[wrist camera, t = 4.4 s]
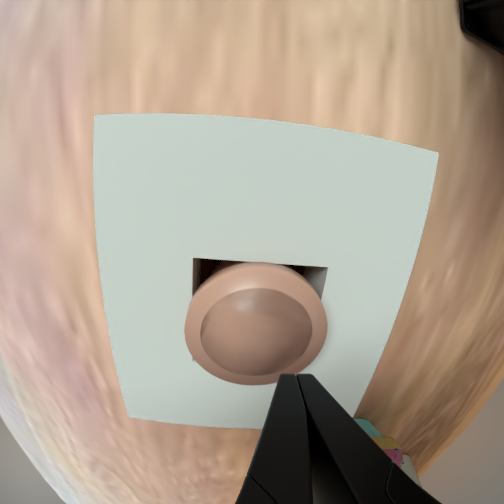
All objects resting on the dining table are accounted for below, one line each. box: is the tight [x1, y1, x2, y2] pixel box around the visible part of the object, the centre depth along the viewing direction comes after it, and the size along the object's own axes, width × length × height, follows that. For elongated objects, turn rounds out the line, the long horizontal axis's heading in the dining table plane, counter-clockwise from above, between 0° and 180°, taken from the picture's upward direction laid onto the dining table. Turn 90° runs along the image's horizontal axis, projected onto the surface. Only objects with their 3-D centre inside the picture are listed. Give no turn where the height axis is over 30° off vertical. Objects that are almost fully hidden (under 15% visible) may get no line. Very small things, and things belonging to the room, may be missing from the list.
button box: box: [93, 113, 439, 429], centre depth 17 cm, size 15×18×4 cm
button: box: [184, 260, 328, 385], centre depth 16 cm, size 6×6×4 cm
